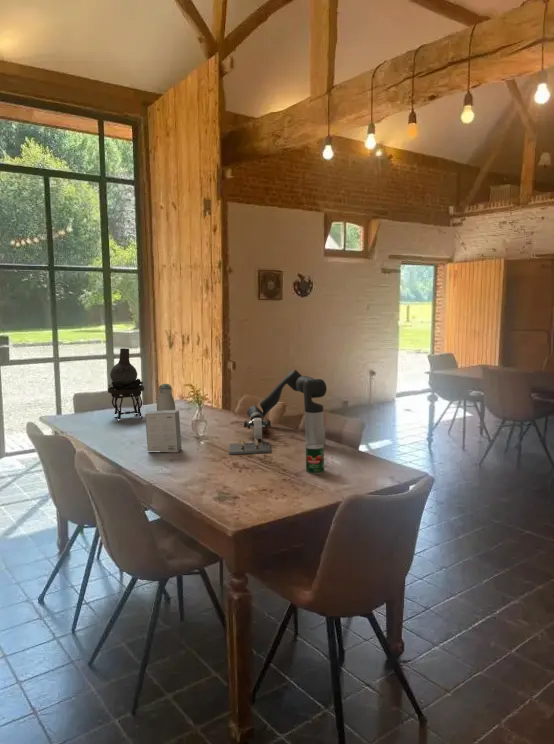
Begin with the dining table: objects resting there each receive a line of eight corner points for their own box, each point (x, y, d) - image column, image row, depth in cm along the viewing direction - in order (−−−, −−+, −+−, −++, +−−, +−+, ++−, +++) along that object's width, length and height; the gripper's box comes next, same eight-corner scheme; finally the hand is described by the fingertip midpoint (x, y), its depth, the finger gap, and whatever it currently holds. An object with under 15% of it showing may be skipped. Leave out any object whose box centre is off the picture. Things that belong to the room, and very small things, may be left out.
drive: (254, 440, 301) (253, 418, 299) (262, 440, 301) (261, 417, 300) (254, 443, 294) (253, 420, 293) (262, 443, 295) (261, 420, 293)
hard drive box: (182, 449, 289) (179, 410, 286) (178, 453, 281) (175, 413, 279) (152, 449, 290) (149, 410, 288) (147, 453, 283) (144, 413, 280)
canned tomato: (309, 474, 240) (308, 449, 239) (303, 469, 248) (302, 444, 246) (327, 472, 242) (326, 447, 241) (320, 467, 250) (320, 442, 248)
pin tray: (229, 446, 291) (229, 438, 290) (269, 444, 292) (268, 436, 292) (229, 454, 275) (228, 446, 275) (270, 452, 276) (270, 444, 276)
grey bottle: (164, 435, 318) (161, 385, 315) (155, 432, 326) (152, 384, 322) (179, 432, 324) (176, 383, 321) (170, 429, 332) (168, 382, 329)
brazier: (111, 415, 379) (106, 347, 374) (146, 413, 383) (142, 346, 378) (108, 422, 358) (102, 350, 352) (145, 420, 361) (140, 349, 356)
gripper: (243, 414, 317) (243, 420, 301) (269, 412, 318) (270, 418, 302) (244, 427, 318) (244, 434, 302) (269, 426, 319) (271, 432, 303)
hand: (257, 426), depth 302 cm, fingers open, 8 cm apart
